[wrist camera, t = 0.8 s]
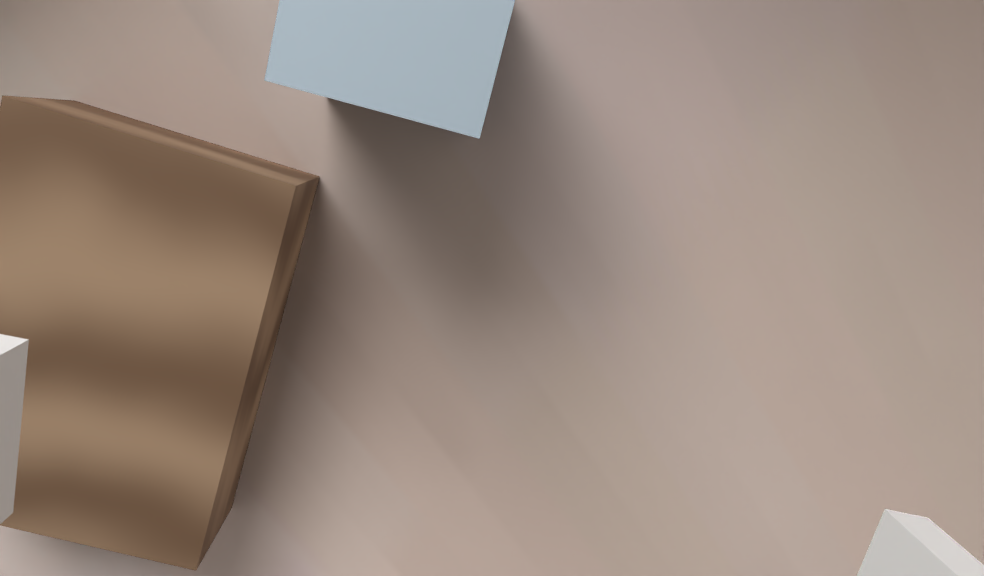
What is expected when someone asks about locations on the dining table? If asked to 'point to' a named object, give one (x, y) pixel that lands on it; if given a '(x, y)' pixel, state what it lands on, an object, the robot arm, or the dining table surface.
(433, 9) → the column
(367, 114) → the dining table surface
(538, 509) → the dining table surface
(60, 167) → the plinth
